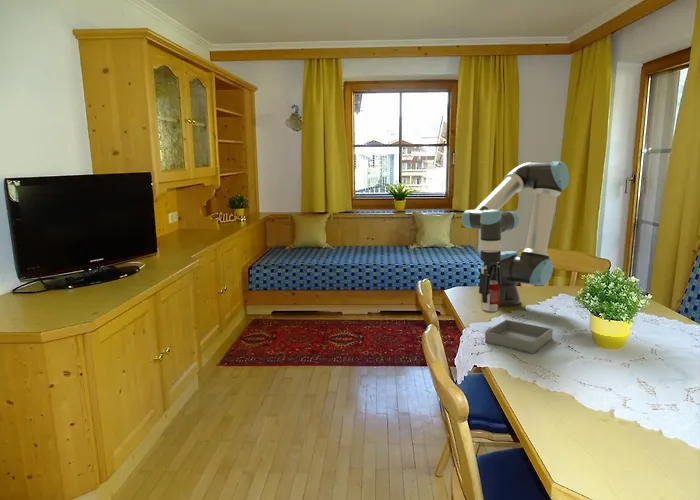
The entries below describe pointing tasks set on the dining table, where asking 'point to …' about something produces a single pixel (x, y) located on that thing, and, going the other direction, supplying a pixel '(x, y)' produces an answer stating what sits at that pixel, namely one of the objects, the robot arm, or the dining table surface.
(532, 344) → the bin
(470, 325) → the dining table surface
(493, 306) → the soda can
